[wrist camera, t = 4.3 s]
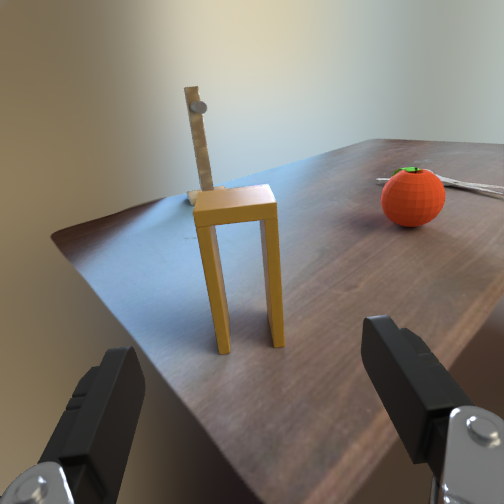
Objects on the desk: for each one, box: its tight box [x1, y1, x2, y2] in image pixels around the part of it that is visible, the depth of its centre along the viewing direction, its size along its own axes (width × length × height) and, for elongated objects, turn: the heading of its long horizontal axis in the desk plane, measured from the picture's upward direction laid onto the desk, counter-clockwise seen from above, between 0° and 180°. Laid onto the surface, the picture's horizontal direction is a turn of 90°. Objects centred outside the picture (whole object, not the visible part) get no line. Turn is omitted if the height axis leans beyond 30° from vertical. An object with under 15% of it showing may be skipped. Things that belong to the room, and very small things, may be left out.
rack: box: [184, 86, 226, 205], centre depth 51 cm, size 7×10×18 cm
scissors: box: [376, 169, 504, 195], centre depth 51 cm, size 11×1×20 cm
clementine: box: [381, 167, 445, 227], centre depth 38 cm, size 8×7×7 cm
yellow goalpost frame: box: [193, 184, 285, 354], centre depth 22 cm, size 5×4×11 cm
